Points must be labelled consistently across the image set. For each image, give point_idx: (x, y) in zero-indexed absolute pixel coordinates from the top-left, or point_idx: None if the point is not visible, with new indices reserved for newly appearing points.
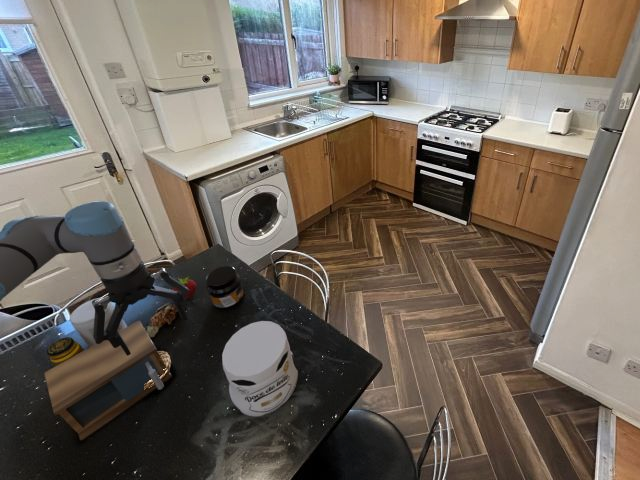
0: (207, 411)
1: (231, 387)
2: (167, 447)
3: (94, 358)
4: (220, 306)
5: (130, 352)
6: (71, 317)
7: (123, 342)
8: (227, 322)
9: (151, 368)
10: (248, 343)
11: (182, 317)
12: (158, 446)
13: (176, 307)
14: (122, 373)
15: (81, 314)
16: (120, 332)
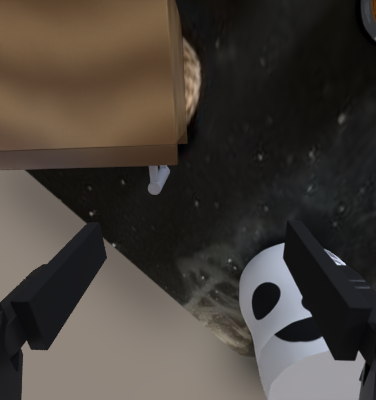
0: (206, 244)
1: (251, 325)
2: (150, 247)
3: (28, 56)
4: (369, 26)
5: (105, 254)
6: None
7: (74, 306)
8: (336, 89)
9: (156, 177)
10: (341, 386)
11: (290, 272)
12: (141, 238)
13: (310, 261)
14: None
15: None
16: None
